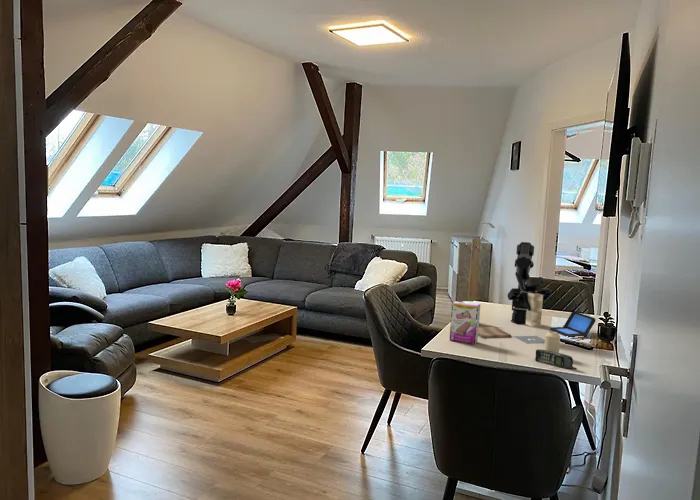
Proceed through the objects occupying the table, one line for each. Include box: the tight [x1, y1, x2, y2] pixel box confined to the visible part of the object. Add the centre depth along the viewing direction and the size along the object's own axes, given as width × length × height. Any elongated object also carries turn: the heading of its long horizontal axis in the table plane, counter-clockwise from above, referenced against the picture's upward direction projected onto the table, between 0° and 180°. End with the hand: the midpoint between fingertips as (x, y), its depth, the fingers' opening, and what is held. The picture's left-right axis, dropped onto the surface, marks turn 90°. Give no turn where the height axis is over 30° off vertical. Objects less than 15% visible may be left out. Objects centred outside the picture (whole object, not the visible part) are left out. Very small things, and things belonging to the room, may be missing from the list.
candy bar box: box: [449, 300, 481, 345], centre depth 226 cm, size 11×5×16 cm, turn 65°
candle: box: [543, 330, 561, 353], centre depth 210 cm, size 6×6×10 cm
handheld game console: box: [549, 311, 596, 338], centre depth 249 cm, size 16×13×9 cm
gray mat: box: [512, 335, 545, 345], centre depth 235 cm, size 12×12×1 cm
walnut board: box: [478, 326, 512, 339], centre depth 242 cm, size 14×14×1 cm
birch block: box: [525, 293, 544, 328], centre depth 233 cm, size 4×4×14 cm
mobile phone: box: [535, 349, 578, 370], centre depth 199 cm, size 5×3×15 cm
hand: (535, 310), depth 232 cm, fingers closed on birch block, 5 cm apart
